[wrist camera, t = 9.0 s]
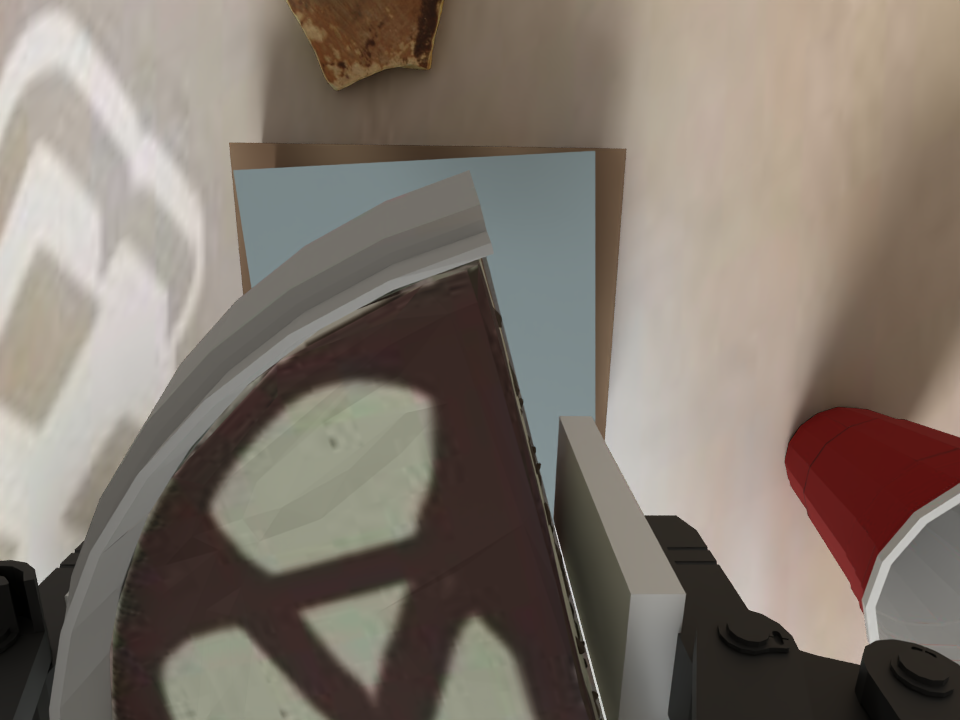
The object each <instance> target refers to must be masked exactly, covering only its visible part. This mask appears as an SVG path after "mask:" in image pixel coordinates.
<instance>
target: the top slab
mask: <svg viewBox="0 0 960 720" xmlns="http://www.w3.org/2000/svg"><path fill="white" fill-rule="evenodd" d="M468 170H470V174H471V177H472V180H473V183H474V186H475V189H476V193H477V196H478V199H479V202H480V205H481V210H482V214H483V218H484V222H485V226H486V230H487V233H488V235H489V238H490V241H491V244H492V248H493V252H494V254H491V255H489V256H486V257H487V261H488V265H489V269H490V273H491V277H492V281H493V285H494V289H495V293H496V297H497V301H498V305H499V309H500V313H501V317H502V321H503V325H504V329H505V333H506V337H507V341H508V345H509V349H510V353H511V357H512V361H513V365H514V369H515V373H516V377H517V381H518V385H519V389H520V393H521V397H522V399H523V405H524V409H525V413H526V417H527V421H528V425H529V429H530V433H531V437H532V441H533V445H534V446H535V447H536V457H537V461H538V463H541V468H540V472H541V476H542V480H543V484H544V488H545V492H546V496H547V500H548V504H549V508H550V512H551V516H552V520H553V516H554V499H555V482H556V464H557V447H558V430H559V416H591V417H592V418H593V420H594V422H595V151H583V152H564V153H545V154H527V155H508V156H489V157H471V158H452V159H434V160H415V161H396V162H378V163H359V164H340V165H322V166H303V167H284V168H266V169H247V170H233V172H234V179H235V185H236V192H237V198H238V204H239V211H240V217H241V224H242V230H243V237H244V243H245V250H246V256H247V262H248V269H249V275H250V282H251V288H253V287H254V286H255V285H257V284H258V283H259V282H260V281H262V280H263V279H264V278H265V277H267V276H268V275H269V274H270V273H272V272H273V271H274V270H275V269H277V268H278V267H279V266H280V265H282V264H283V263H284V262H285V261H287V260H288V259H289V258H290V257H292V256H293V255H294V254H295V253H297V252H298V251H299V250H300V249H302V248H303V247H304V246H305V245H307V244H309V243H311V242H313V241H314V240H316V239H318V238H320V237H322V236H323V235H325V234H327V233H329V232H331V231H332V230H334V229H336V228H338V227H340V226H341V225H343V224H345V223H347V222H349V221H350V220H352V219H354V218H356V217H358V216H359V215H361V214H363V213H365V212H367V211H368V210H370V209H372V208H374V207H376V206H377V205H379V204H381V203H383V202H384V201H387V200H389V199H392V198H395V197H398V196H400V195H403V194H406V193H408V192H411V191H414V190H416V189H419V188H422V187H425V186H427V185H430V184H433V183H435V182H438V181H441V180H444V179H446V178H449V177H452V176H454V175H457V174H460V173H463V172H465V171H468ZM553 524H554V525H555V523H554V520H553Z"/></svg>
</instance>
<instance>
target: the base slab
mask: <svg viewBox="0 0 960 720" xmlns="http://www.w3.org/2000/svg"><path fill="white" fill-rule="evenodd" d="M229 146H230V156H231V167H232V178H233V189H234V200H235V210H236V221H237V232H238V243H239V254H240V264H241V275H242V286H243V295H244V294H245V293H247V292H248V291H249V290H250V289H252V288H251V282H250V275H249V269H248V262H247V256H246V250H245V243H244V237H243V230H242V224H241V217H240V211H239V204H238V198H237V192H236V185H235V179H234V172H233V170H247V169H266V168H284V167H303V166H322V165H340V164H359V163H378V162H396V161H415V160H434V159H452V158H471V157H489V156H508V155H527V154H545V153H564V152H583V151H595V424H596V426H597V428H598V430H599V432H600V433H601V435H602V437H603V439H604V441H605V428H606V415H607V401H608V388H609V374H610V361H611V348H612V334H613V321H614V307H615V294H616V280H617V267H618V254H619V240H620V227H621V213H622V200H623V186H624V173H625V160H626V149H610V148H546V147H481V146H416V145H352V144H287V143H229Z"/></svg>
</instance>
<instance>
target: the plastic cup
mask: <svg viewBox="0 0 960 720" xmlns="http://www.w3.org/2000/svg"><path fill="white" fill-rule="evenodd" d="M785 466H786V470H787V475H788V479H789V481H790V485H791V487H792V489H793V490H794V492H795V493H796V495H797V496H798V498H799V499H800V501H801V502H802V504H803V505H804V507H805V508H806V510H807V514H808V516H809V518H810V519H811V521H812V523H813V524H814V526H815V527H816V529H817V531H818V532H819V534H820V535H821V537H822V539H823V540H824V542H825V543H826V545H827V547H828V548H829V550H830V551H831V553H832V555H833V556H834V558H835V559H836V561H837V563H838V564H839V566H840V567H841V569H842V571H843V572H844V574H845V575H846V577H847V579H848V580H849V582H850V584H851V589H852V591H853V592H854V594H855V596H856V597H857V599H858V601H859V605H860V609H861V610H862V612H863V614H864V619H865V626H866V634H867V640H868V642H869V644H871V643H872V642H874V641H876V640H887V639H896V640H901V641H907V642H912V643H916V644H919V645H922V646H924V647H927V648H930V649H932V650H934V651H937V652H939V653H940V654H942V655H944V656H945V657H947V658H949V659H950V660H952V661H954V662H956V663H957V664H959V665H960V437H957V436H953V435H950V434H947V433H944V432H941V431H938V430H935V429H932V428H929V427H926V426H923V425H920V424H917V423H914V422H911V421H908V420H905V419H895V418H892V417H889V416H886V415H883V414H880V413H877V412H874V411H871V410H868V409H858V408H845V407H836V408H833V409H830V410H827V411H823V412H820V413H817V414H816V415H815V416H813V417H812V418H811V419H809V420H808V421H806V422H805V423H804V424H802V425H801V426H800V427H799V429H798V430H797V432H796V433H795V435H794V436H793V438H792V439H791V440H790V442H789V444H788V449H787V453H786V457H785Z"/></svg>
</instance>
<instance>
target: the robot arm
mask: <svg viewBox="0 0 960 720" xmlns="http://www.w3.org/2000/svg"><path fill="white" fill-rule="evenodd" d="M553 520H554V523H555V527H556V531H557V535H558V538H559V542H560V546H561V550H562V553H563V557H564V561H565V565H566V568H567V572H568V576H569V580H570V583H571V587H572V591H573V595H574V598H575V602H576V606H577V610H578V613H579V617H580V621H581V625H582V628H583V632H584V636H585V640H586V643H587V647H588V651H589V654H590V658H591V662H592V666H593V669H594V673H595V677H596V681H597V684H598V688H599V692H600V696H601V699H602V703H603V707H604V711H605V714H606V718H607V720H960V665H959V664H957V663H956V662H954V661H952V660H950V659H949V658H947V657H945V656H944V655H942V654H940V653H939V652H937V651H934V650H932V649H930V648H927V647H924V646H922V645H919V644H916V643H912V642H907V641H901V640H896V639H887V640H876V641H874V642H872V643H871V644H869V645H867V646H865V649H864V653H863V656H862V660H861V665H858V664H853V663H848V662H844V661H839V660H835V659H830V658H826V657H821V656H817V655H814V654H810V653H807V652H803V651H800V650H799V649H798V647H797V645H796V643H795V641H794V639H793V637H792V635H790V634H789V633H788V632H787V631H786V630H785V629H784V628H783V627H782V626H781V625H780V624H779V623H777V622H775V621H773V620H771V619H770V618H768V617H766V616H764V615H763V614H760V613H757V612H753V611H750V610H748V608H747V607H746V605H745V604H744V602H743V601H742V599H741V598H740V596H739V595H738V593H737V592H736V590H735V588H734V587H733V585H732V584H731V582H730V581H729V579H728V578H727V576H726V575H725V573H724V572H723V570H722V569H721V567H720V566H719V565H717V561H716V559H715V558H714V556H713V555H712V553H711V552H710V550H708V549H707V546H706V544H705V543H704V541H703V540H702V538H701V537H700V535H699V534H698V532H697V530H695V529H694V528H693V527H691V526H690V525H688V524H687V523H686V522H684V521H683V520H682V519H680V518H679V517H677V516H644V514H643V512H642V510H641V509H640V507H639V505H638V503H637V501H636V499H635V497H634V495H633V494H632V492H631V490H630V488H629V486H628V484H627V482H626V480H625V479H624V477H623V475H622V473H621V471H620V469H619V467H618V465H617V463H616V462H615V460H614V458H613V456H612V454H611V452H610V450H609V448H608V447H607V445H606V443H605V441H604V439H603V437H602V435H601V433H600V432H599V430H598V428H597V426H596V424H595V422H594V420H593V418H592V417H591V416H559V430H558V447H557V464H556V482H555V499H554V516H553ZM84 541H85V540H84ZM84 541H83V542H82V543H81V544H80V545H79V546H78V547H77V548H76V549H75V553H71V554H70V555H69V556H68V557H67V558H66V559H65V560H64V561H63V562H62V563H61V564H60V568H56V569H55V570H54V571H53V572H52V573H51V574H50V575H49V576H48V577H47V578H46V579H45V580H44V581H43V582H42V583H41V584H40V585H39V586H38V583H37V578H36V573H35V569H34V568H32V567H31V566H30V565H29V564H27V563H25V562H19V561H13V560H7V561H0V720H50V717H49V706H50V700H51V693H52V686H53V680H54V673H55V666H56V659H57V653H58V646H59V639H60V633H61V630H62V627H63V624H64V620H65V613H66V607H67V601H68V594H69V588H70V582H71V576H72V573H73V570H74V567H75V565H76V562H77V559H78V557H79V554H80V551H81V549H82V546H83V543H84Z"/></svg>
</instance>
